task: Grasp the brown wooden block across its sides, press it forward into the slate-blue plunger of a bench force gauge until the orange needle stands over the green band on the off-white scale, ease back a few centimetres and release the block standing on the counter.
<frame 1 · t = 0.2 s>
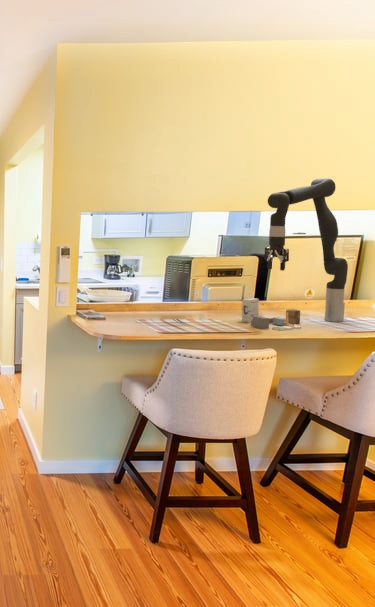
hand: (275, 269, 278), 28 cm above the counter, fingers open, 8 cm apart
ink box: (250, 322, 299), on the counter
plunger: (285, 318, 287), point 4 cm above the counter, slide at 0.0 cm
brown wooden block: (292, 323, 295), on the counter
gauge bed: (273, 325, 288), on the counter
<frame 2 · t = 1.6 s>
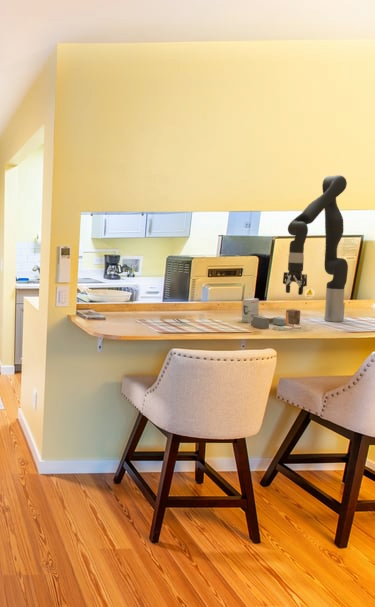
hand: (294, 293, 293), 15 cm above the counter, fingers open, 8 cm apart
nothing on the counter moved.
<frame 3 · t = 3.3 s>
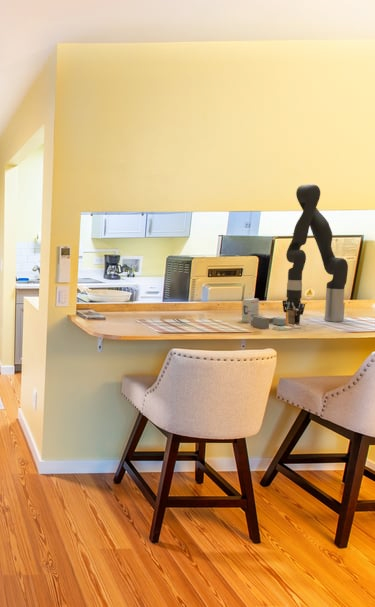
hand: (292, 321, 295), 1 cm above the counter, fingers closed on brown wooden block, 5 cm apart
brown wooden block: (292, 323, 295), on the counter, touching gripper
everything else where it was.
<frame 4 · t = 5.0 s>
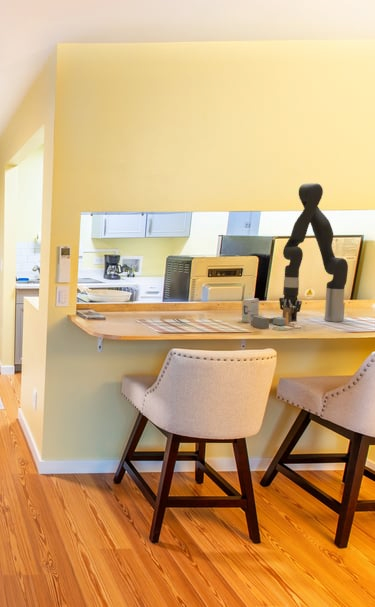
hand: (289, 319, 294), 2 cm above the counter, fingers closed on brown wooden block, 5 cm apart
brown wooden block: (289, 321, 294), point 1 cm above the counter, touching gripper
everything else where it was.
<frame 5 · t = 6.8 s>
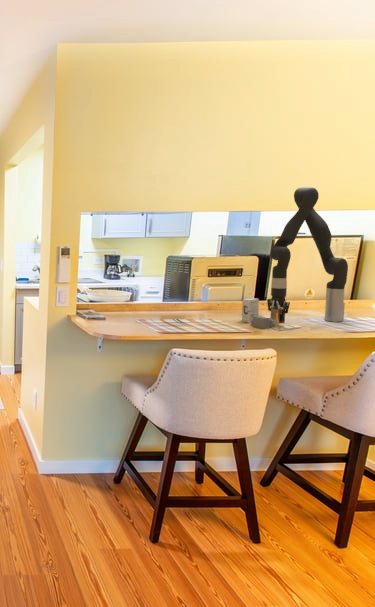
hand: (277, 320, 289), 2 cm above the counter, fingers closed on brown wooden block, 5 cm apart
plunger: (275, 319, 283), point 4 cm above the counter, slide at 6.9 cm, touching brown wooden block
brown wooden block: (277, 322, 289), point 1 cm above the counter, touching gripper, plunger
everything else where it was.
when the fingers open (1 cm above the counter, at t = 9.2 s): brown wooden block stays where it is, on the counter.
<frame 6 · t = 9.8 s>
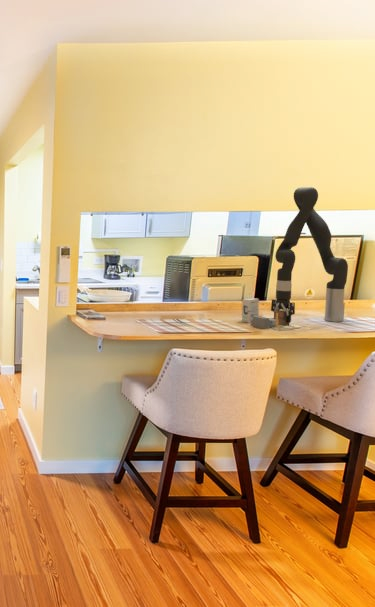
hand: (282, 321, 291), 2 cm above the counter, fingers open, 8 cm apart
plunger: (275, 319, 283), point 4 cm above the counter, slide at 7.0 cm
brown wooden block: (282, 324, 291), on the counter
everything else where it was.
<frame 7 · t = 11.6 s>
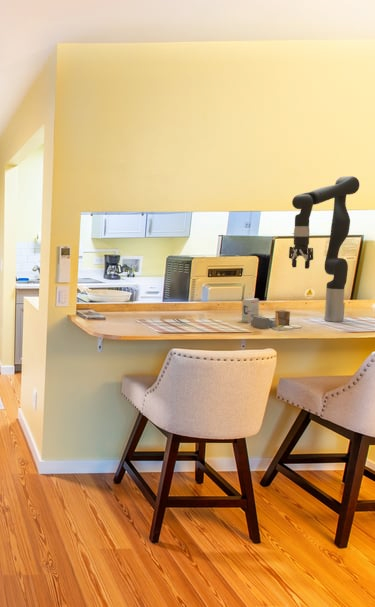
hand: (300, 267, 291), 28 cm above the counter, fingers open, 8 cm apart
nothing on the counter moved.
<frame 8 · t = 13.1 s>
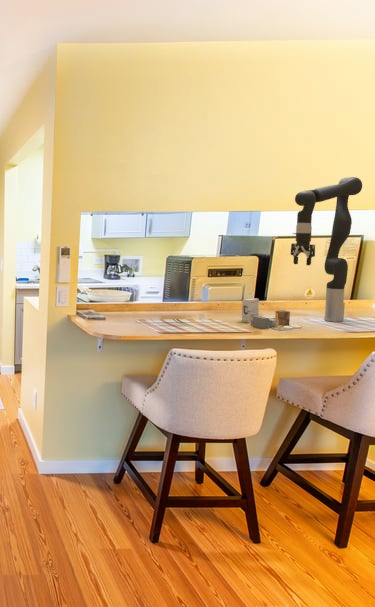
hand: (302, 264, 291), 30 cm above the counter, fingers open, 8 cm apart
nothing on the counter moved.
at the end: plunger slide at 7.0 cm; the gripper is holding nothing; brown wooden block tilted 0° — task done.
